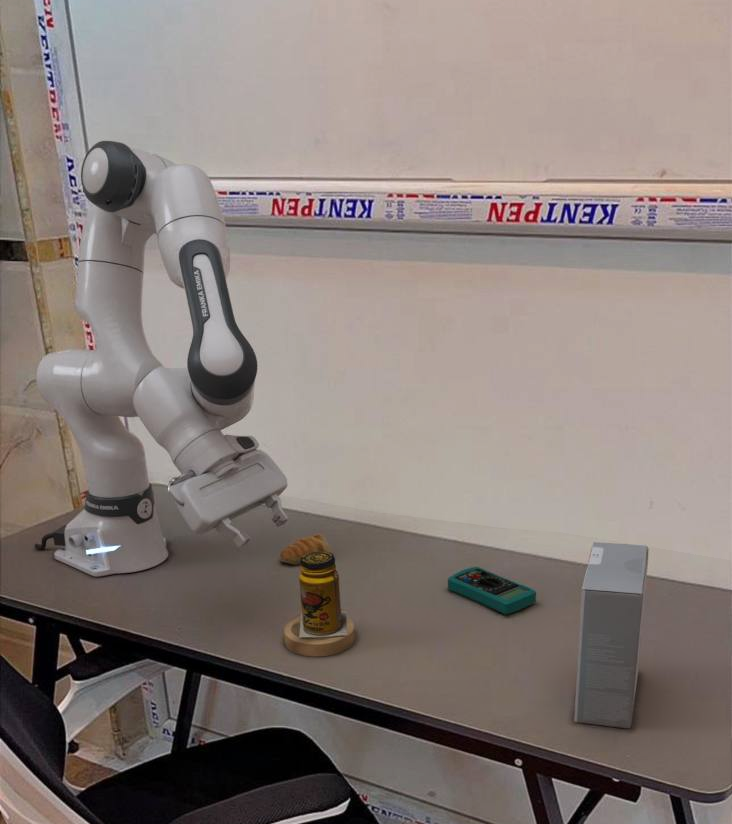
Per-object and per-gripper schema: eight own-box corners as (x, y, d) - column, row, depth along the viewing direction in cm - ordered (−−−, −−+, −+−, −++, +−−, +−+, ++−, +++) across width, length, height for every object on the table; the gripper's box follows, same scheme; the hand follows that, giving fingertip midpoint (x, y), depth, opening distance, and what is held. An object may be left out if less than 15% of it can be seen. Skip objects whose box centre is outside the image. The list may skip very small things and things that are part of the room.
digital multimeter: (474, 577, 171) (475, 562, 170) (537, 604, 161) (538, 588, 160) (444, 590, 167) (444, 574, 166) (506, 618, 157) (507, 601, 156)
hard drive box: (584, 667, 142) (593, 540, 133) (638, 673, 140) (651, 544, 131) (572, 723, 128) (581, 586, 120) (632, 730, 126) (645, 592, 117)
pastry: (293, 570, 177) (291, 551, 176) (272, 560, 182) (271, 541, 180) (334, 556, 182) (333, 537, 181) (313, 547, 187) (311, 528, 186)
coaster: (270, 646, 151) (269, 634, 150) (311, 618, 159) (310, 606, 158) (329, 663, 146) (328, 650, 145) (368, 633, 154) (367, 620, 153)
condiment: (299, 638, 148) (293, 566, 143) (301, 614, 156) (295, 545, 151) (346, 636, 148) (343, 564, 143) (346, 612, 156) (342, 543, 151)
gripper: (170, 470, 139) (230, 545, 139) (260, 433, 154) (314, 501, 154) (152, 495, 143) (210, 568, 143) (241, 456, 158) (293, 523, 158)
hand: (264, 533), depth 148 cm, fingers open, 8 cm apart
